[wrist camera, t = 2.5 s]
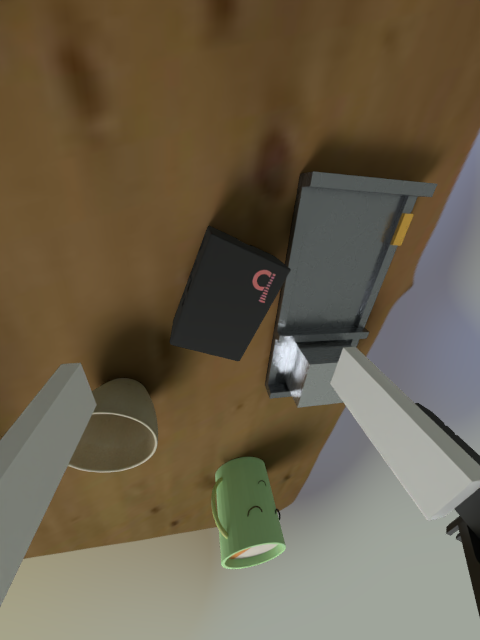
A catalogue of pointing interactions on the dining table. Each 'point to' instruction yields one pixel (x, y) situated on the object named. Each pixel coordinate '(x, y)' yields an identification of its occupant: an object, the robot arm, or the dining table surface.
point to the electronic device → (226, 296)
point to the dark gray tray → (334, 276)
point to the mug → (246, 514)
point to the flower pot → (118, 429)
